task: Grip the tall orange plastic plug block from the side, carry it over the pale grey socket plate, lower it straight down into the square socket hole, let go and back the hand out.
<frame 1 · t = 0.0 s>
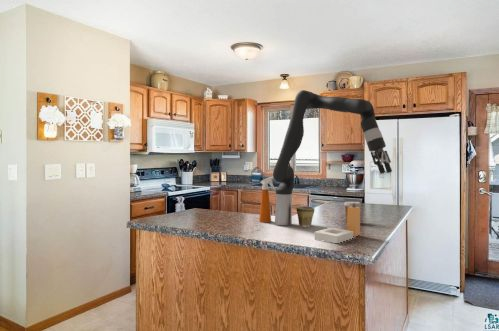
hand: (386, 172, 158), 31 cm above the counter, tool tilted 20°, fingers open, 8 cm apart
spray bottle: (267, 222, 203), on the counter
plug: (353, 235, 169), on the counter
olive green flower pot: (305, 225, 194), on the counter
socket: (333, 239, 163), on the counter
disposable coffee cup: (352, 223, 200), on the counter
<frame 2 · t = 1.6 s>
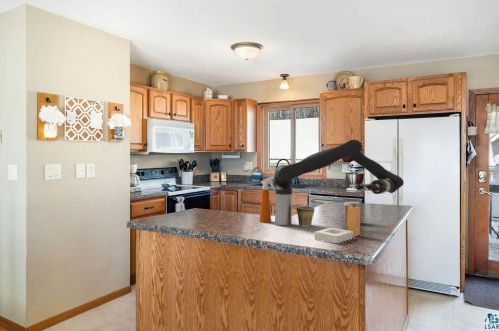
hand: (365, 188, 176), 22 cm above the counter, tool horizontal, fingers open, 8 cm apart
nothing on the counter moved.
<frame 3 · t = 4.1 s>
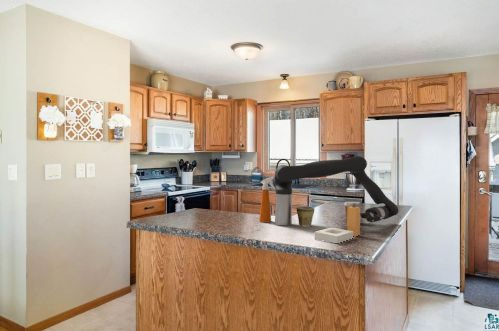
hand: (359, 218, 173), 8 cm above the counter, tool horizontal, fingers open, 8 cm apart
nothing on the counter moved.
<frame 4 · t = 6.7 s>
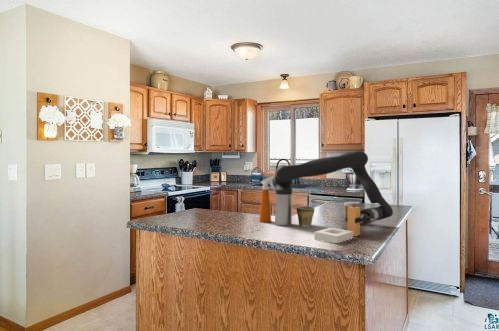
hand: (350, 220, 167), 8 cm above the counter, tool horizontal, fingers closed on plug, 4 cm apart
plug: (353, 235, 169), on the counter, touching gripper
everything else where it was.
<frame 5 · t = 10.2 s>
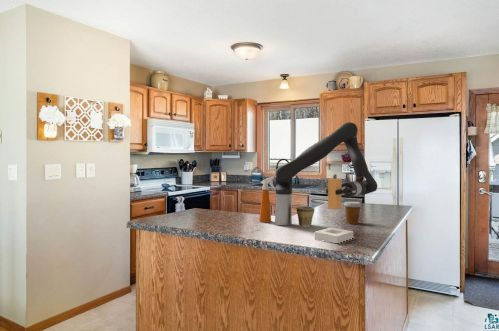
hand: (331, 191, 160), 22 cm above the counter, tool horizontal, fingers closed on plug, 4 cm apart
plug: (334, 208, 162), point 14 cm above the counter, touching gripper
everything else where it was.
when the fingers open (9 cm above the counter, at t = 13.9 s): plug stays where it is, resting in socket.
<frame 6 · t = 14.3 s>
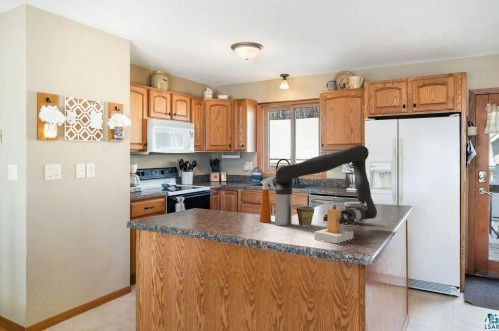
hand: (331, 220, 161), 9 cm above the counter, tool horizontal, fingers open, 8 cm apart
plug: (333, 239, 163), resting in socket
everything else where it was.
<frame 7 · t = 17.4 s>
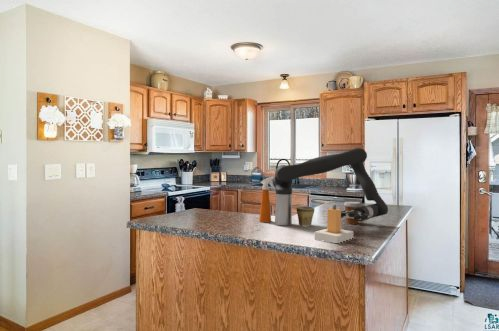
hand: (346, 216, 170), 9 cm above the counter, tool horizontal, fingers open, 8 cm apart
nothing on the counter moved.
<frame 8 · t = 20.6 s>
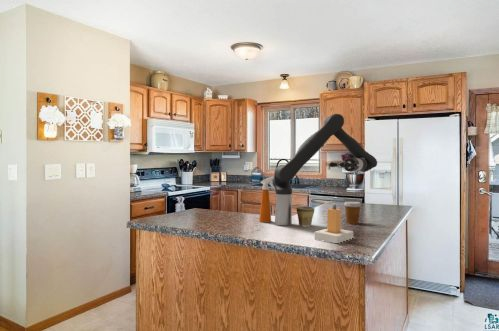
hand: (337, 165, 181), 34 cm above the counter, tool horizontal, fingers open, 8 cm apart
nothing on the counter moved.
at the end: plug 0.1 cm off-centre on the socket, point 0.0 cm above the socket's base; plug tilted 0°; the gripper is holding nothing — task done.
